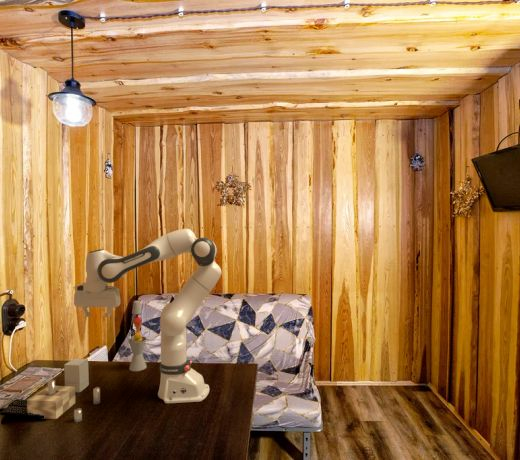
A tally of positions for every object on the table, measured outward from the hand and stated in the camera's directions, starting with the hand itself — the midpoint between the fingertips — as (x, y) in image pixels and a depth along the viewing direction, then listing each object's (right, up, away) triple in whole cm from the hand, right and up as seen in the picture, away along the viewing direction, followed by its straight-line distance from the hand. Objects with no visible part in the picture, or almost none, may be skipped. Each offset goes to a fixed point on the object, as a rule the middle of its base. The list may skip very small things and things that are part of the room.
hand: (97, 316), depth 157 cm
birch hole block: (-12, -35, -14) cm, 39 cm away
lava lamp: (+9, -33, +26) cm, 44 cm away
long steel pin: (-12, -35, -14) cm, 39 cm away
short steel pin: (+2, -35, -21) cm, 41 cm away
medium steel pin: (+3, -34, -8) cm, 35 cm away
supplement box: (-12, -34, +4) cm, 36 cm away
